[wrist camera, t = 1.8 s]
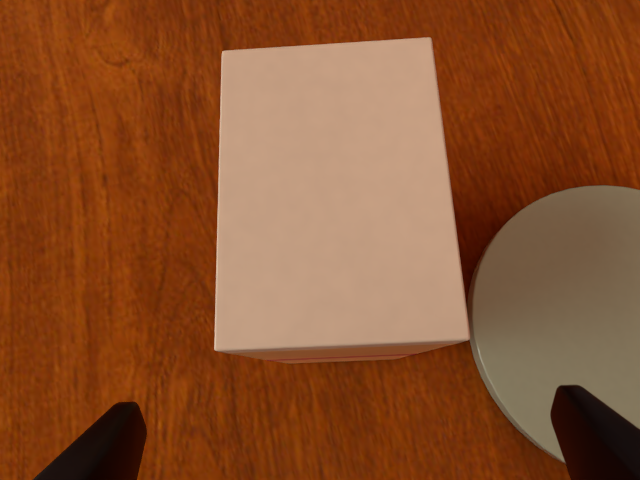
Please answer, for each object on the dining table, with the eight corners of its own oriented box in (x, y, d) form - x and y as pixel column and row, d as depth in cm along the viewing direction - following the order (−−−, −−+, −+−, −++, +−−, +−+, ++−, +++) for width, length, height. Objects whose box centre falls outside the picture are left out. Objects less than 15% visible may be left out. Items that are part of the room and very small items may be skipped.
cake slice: (396, 359, 21) (473, 341, 9) (286, 364, 21) (212, 352, 9) (384, 214, 23) (433, 35, 11) (284, 219, 23) (220, 48, 11)
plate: (778, 512, 18) (802, 520, 18) (454, 450, 20) (460, 454, 19) (751, 212, 22) (770, 205, 21) (477, 176, 23) (483, 167, 22)
